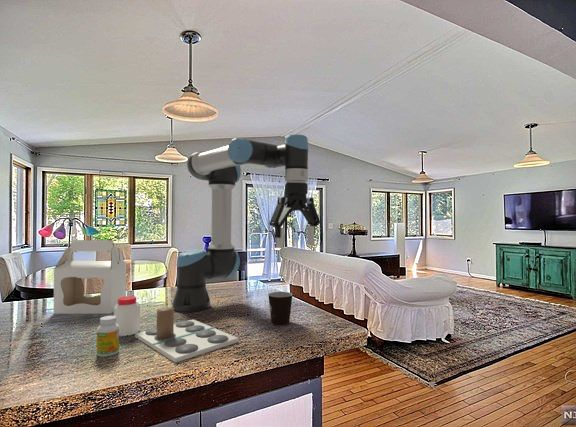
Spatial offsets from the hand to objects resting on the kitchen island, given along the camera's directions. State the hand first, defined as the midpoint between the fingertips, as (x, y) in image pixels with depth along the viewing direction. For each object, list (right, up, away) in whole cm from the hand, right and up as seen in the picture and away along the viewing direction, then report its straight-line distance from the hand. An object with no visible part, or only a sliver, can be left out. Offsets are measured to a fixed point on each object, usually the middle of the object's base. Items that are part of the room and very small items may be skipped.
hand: (295, 246), depth 111 cm
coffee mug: (-5, -28, +9) cm, 30 cm away
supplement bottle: (-52, -28, -20) cm, 62 cm away
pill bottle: (-55, -28, -3) cm, 62 cm away
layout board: (-34, -28, -9) cm, 45 cm away
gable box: (-82, -28, +24) cm, 90 cm away
